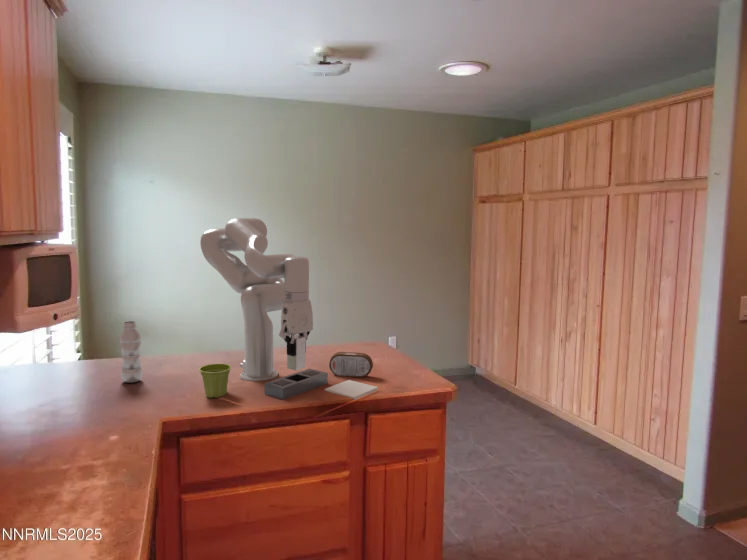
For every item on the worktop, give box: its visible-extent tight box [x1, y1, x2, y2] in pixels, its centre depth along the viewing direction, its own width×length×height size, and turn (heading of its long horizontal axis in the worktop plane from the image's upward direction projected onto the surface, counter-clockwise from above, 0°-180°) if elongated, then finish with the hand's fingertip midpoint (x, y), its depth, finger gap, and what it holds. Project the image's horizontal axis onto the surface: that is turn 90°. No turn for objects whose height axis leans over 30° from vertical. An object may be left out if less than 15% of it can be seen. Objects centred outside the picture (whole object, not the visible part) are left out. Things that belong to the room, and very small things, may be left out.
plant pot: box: [198, 363, 232, 399], centre depth 164 cm, size 9×9×9 cm
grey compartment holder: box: [264, 368, 329, 401], centre depth 170 cm, size 8×20×4 cm, turn 143°
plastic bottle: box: [119, 320, 143, 384], centre depth 175 cm, size 6×7×20 cm
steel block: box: [286, 334, 307, 371], centre depth 169 cm, size 4×4×10 cm
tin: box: [328, 351, 374, 378], centre depth 185 cm, size 15×3×8 cm, turn 84°
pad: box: [324, 379, 379, 401], centre depth 170 cm, size 12×12×1 cm
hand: (296, 353), depth 169 cm, fingers closed on steel block, 4 cm apart
